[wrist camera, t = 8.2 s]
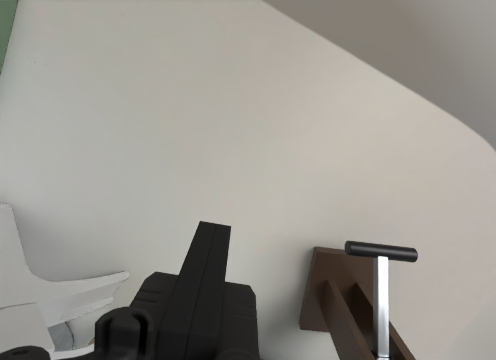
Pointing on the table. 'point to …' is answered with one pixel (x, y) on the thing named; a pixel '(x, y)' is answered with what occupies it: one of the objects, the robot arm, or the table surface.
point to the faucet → (42, 296)
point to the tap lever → (380, 287)
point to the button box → (6, 25)
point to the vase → (61, 337)
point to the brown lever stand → (345, 305)
